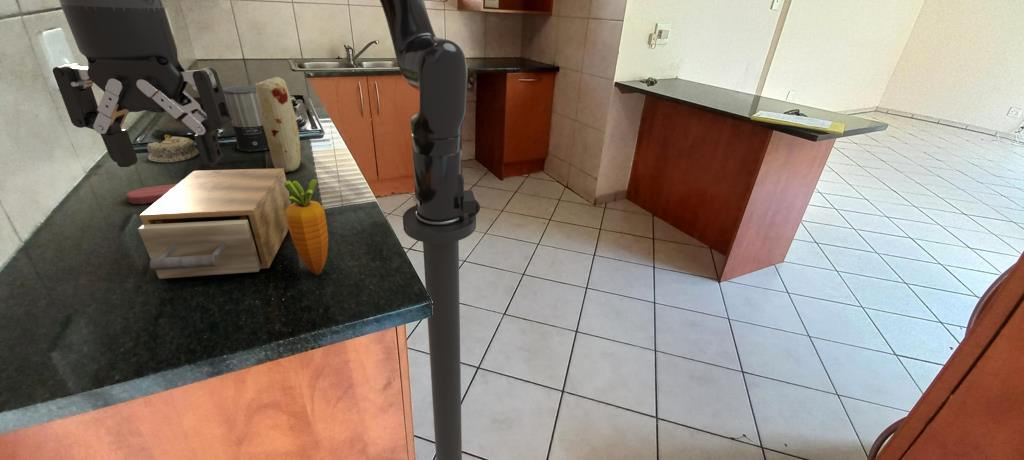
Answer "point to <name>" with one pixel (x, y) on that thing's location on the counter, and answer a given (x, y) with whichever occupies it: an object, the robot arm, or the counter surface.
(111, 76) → the robot arm
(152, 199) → the popsicle
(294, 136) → the food model
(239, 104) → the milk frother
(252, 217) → the cabinet
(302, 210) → the carrot
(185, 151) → the cake
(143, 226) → the drawer
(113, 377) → the counter surface
